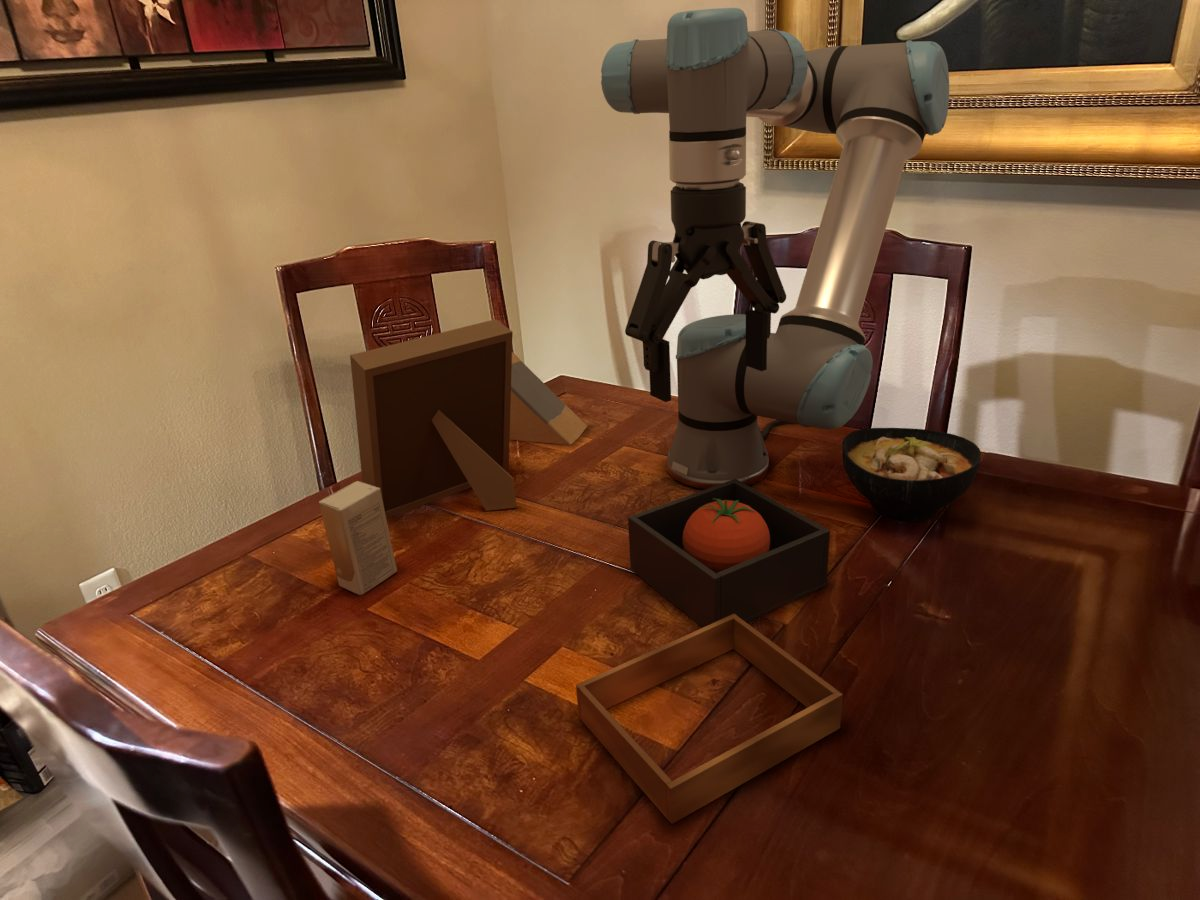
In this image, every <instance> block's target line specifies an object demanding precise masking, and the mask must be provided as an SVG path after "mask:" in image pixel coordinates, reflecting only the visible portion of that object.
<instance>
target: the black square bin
mask: <svg viewBox="0 0 1200 900" xmlns="http://www.w3.org/2000/svg"><path fill="white" fill-rule="evenodd" d="M715 499H720V500H721V501H722V500H730V501H736V500H739V501H738V502H740V503H742V504H745V505H748V506H750V507H751V508H752V509H754V510H755V511H757V512H758V513H759V514H760V515H761V516H762V518H763V519H764V521H765V522H766V524H767V527H768V530H769V534H770V547H769V551H768V552H766V553H764V554H761V555H759V556H756V557H754V558H752V559H749V560H747V561H744V562H742V563H740V564H737V565H735V566H732V567H730V568H728V569H725V570H723V571H720V572H718V573H715V572H713V571H712V570H710V569H709V568H708V567H706V566H705V565H703V564H702V563H700V562H699V561H698V560H696V559H695V558H693V557H692V556H691V555H689V554H688V553H686V552H685V551H684V547H683V531H684V528H685V526H686V523H687V521H688V519H689V518H690V516H691V515H692V514H693V513H694V512H695V511H696V510H698V509H699V507H702V506H704V505H705V504H708V503H712V502H715V501H717V500H715ZM627 525H628V527H627V528H628V546H629V548H628V549H629V565H630V567H629V570H630V571H631V572H632V573H634V574H635V575H636V576H637V577H639V578H640V579H641V580H642V581H644V582H645V583H646V584H647V585H649V587H651V588H653V589H654V590H655V591H657V592H658V593H659V595H661V596H663V598H665V599H666V600H668V601H669V602H670V603H671V604H672V605H673V606H674V607H676V608H677V609H678V610H680V611H681V612H683V613H684V614H685V615H686V616H688V618H690V619H691V620H692V621H694V622H695V623H696V624H697V625H699V626H700V628H703V627H706V626H708V625H710V624H712V623H714V622H717V621H719V620H721V619H723V618H726V617H728V616H730V615H732V614H735V615H737V616H738V617H739V618H741V619H742V620H743V621H745V622H746V623H747V624H748V623H749V622H751V621H753V620H756V619H758V618H759V617H762V616H764V615H766V614H769V613H771V612H773V611H775V610H777V609H779V608H781V607H783V606H786V605H788V604H790V603H793V602H795V601H797V600H799V599H801V598H804V597H805V596H807V595H810V594H812V593H814V592H816V591H819V590H821V589H823V588H825V587H827V585H828V584H827V583H828V568H829V552H830V539H831V538H830V537H831V530H830V529H828V528H826V527H825V526H823V525H822V524H820V523H817V522H815V521H813V520H811V519H810V518H808V517H806V516H805V515H802V514H800V512H799V513H798V512H797V511H796V510H793V509H792V508H790V507H788V506H786V505H784V504H782V503H781V502H779V501H777V500H775V499H773V498H772V497H769V496H768V495H766V494H764V493H762V492H760V491H759V490H757V489H755V488H753V487H751V486H750V485H749V486H748V485H746V484H744V483H742V482H740V481H739V480H737V479H733V480H731V481H727V482H725V483H722V484H719V485H716V486H713V487H711V488H708V489H701V490H700V491H697V492H694V493H691V494H688V495H685V496H682V497H679V498H677V499H674V500H672V501H669V502H665V503H663V504H660V505H658V506H655V507H652V508H649V509H646V510H642V511H641V512H638V513H635V514H633V515H630V516H628V517H627Z"/></svg>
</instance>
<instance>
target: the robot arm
mask: <svg viewBox="0 0 1200 900" xmlns="http://www.w3.org/2000/svg"><path fill="white" fill-rule="evenodd" d="M666 26H667V27H666V38H657V39H641V40H640V39H638V38H637V39H633V40H631V41H625V42H624V41H623V42H619V43H616V44H614V45H612V46H611V47H610V48H609V49H608V51H607V52H606V53H605V55H604V58H603V61H602V63H601V69H600V72H601V81H600V85H601V90H602V94H603V98H604V99H605V101H606V103H607V105H609V107H610V108H611V109H613V110H614V111H616V112H618V113H624V114H625V113H627V114H634V115H640V114H668V123H669V124H668V125H669V131H668V133H669V135H668V137H669V139H668V156H669V157H668V158H669V159H668V160H669V165H668V166H669V180H670V181H671V182H672V183H674V184H675V186H673V187H672V188H671V190H670V220H671V223H672V225H673V228H674V237H673V240H672V241H658V240H651V241H649V243H648V246H647V259H646V260H647V261H646V263H647V264H646V266H645V269H644V271H643V275H642V278H641V281H640V284H639V287H638V290H637V293H636V295H635V298H634V302H633V305H632V308H631V311H630V314H629V317H628V320H627V323H626V325H625V330H624V331H625V332H624V333H625V335H626V336H627V337H629V338H633V339H635V340H638V341H640V342H642V354H643V358H642V359H643V367H644V368H645V370H646V371H649V394H650V396H651V397H653V398H655V399H658V400H660V401H662V402H664V403H668V402H670V401H672V384H671V383H672V382H671V351H670V350H671V349H670V346H671V345H670V341H668V340H667V339H664V337H665V336H666V334H667V332H668V330H669V328H670V327H671V325H672V324H673V322H674V320H675V318H676V316H677V314H678V312H679V311H680V309H681V307H682V306H683V304H684V302H685V300H686V298H687V296H688V295H689V293H690V291H691V289H693V288H694V287H696V286H697V285H698V283H699V282H700V280H708V279H710V278H713V277H714V276H724V275H727V276H728V278H729V279H730V280H731V281H732V283H733V284H734V285H735V287H736V288H737V289H738V290H739V292H740V293H741V294H742V296H743V297H744V299H745V300H746V301H747V302H748V304H749V305H750V306H751V307H752V308H753V309H747V310H745V314H744V313H743V314H742V313H739V314H737V313H735V314H734V313H733V314H722V315H716V316H710V317H705V318H701V319H698V320H694V321H692V322H690V323H688V324H686V325H685V326H683V327H682V328H681V329H680V331H679V332H678V335H677V342H676V355H675V360H676V376H677V377H676V379H677V412H678V413H677V415H678V416H677V417H678V419H677V420H678V421H677V425H676V427H675V432H674V434H673V438H672V442H671V446H670V448H669V450H668V452H667V456H666V460H667V461H666V465H667V466H666V467H667V472H668V474H669V476H670V477H671V478H672V479H674V480H675V481H677V482H679V483H680V484H683V485H685V486H688V487H691V488H695V489H700V490H705V489H708V488H711V487H713V486H716V485H719V484H722V483H725V482H727V481H731V480H733V479H737V480H739V481H740V482H742V483H744V484H746V485H748V486H749V487H750V486H751V485H754V484H757V483H758V482H760V481H761V480H763V479H764V478H765V477H766V476H767V474H768V472H769V467H770V466H769V461H770V460H769V459H770V458H769V453H768V451H767V448H766V444H765V441H764V439H765V438H766V437H767V436H768V434H769V431H770V429H771V428H772V427H774V426H777V425H781V424H789V423H790V424H796V425H800V426H801V427H803V428H807V429H808V428H809V429H810V428H814V429H816V428H817V429H822V430H835V429H839V428H841V427H842V426H844V425H846V424H847V423H848V422H849V421H850V420H852V418H853V417H854V416H855V415H856V413H857V412H858V410H859V408H860V406H861V405H862V403H863V401H864V398H865V397H866V394H867V391H868V389H869V386H870V383H871V378H872V374H871V373H872V370H873V365H874V363H873V362H874V361H873V356H872V353H871V350H869V348H868V347H866V345H865V343H866V334H865V333H864V331H863V330H862V329H861V327H860V325H859V321H860V318H861V315H862V310H863V307H864V304H865V300H866V297H867V294H868V291H869V287H870V284H871V280H872V277H873V274H874V269H875V266H876V263H877V260H878V257H879V254H880V253H879V252H880V249H881V246H882V243H883V239H884V236H885V231H886V229H887V225H888V222H889V219H890V215H891V212H892V208H893V205H894V202H895V198H896V195H897V191H898V188H899V184H900V181H901V177H902V174H903V171H904V167H905V164H906V162H907V161H908V160H911V159H912V158H914V157H916V156H917V155H918V154H919V153H920V151H921V149H922V147H923V144H924V141H925V137H926V135H928V136H934V135H936V134H939V133H941V132H942V130H943V129H944V127H945V125H946V121H947V117H948V111H949V104H950V103H949V102H950V72H949V65H948V60H947V57H946V53H945V51H944V49H943V48H942V47H941V45H940V44H939V43H937V42H935V41H930V40H928V41H927V40H925V41H922V40H921V41H913V40H911V39H908V40H907V39H906V42H889V43H873V44H856V45H834V46H827V47H822V48H815V49H810V50H805V47H804V45H803V44H802V43H801V41H800V40H799V39H798V38H797V37H796V36H795V35H793V34H791V33H789V32H787V31H784V30H778V29H777V28H769V29H760V30H751V31H749V29H748V28H749V27H748V17H747V15H746V13H745V11H744V10H742V8H739V7H722V8H721V7H719V8H706V9H705V8H704V9H694V10H685V11H680V12H676V13H674V14H673V15H671V16H670V18H669V19H668V22H667V25H666ZM747 118H758V119H759V120H761V121H762V122H763V123H765V124H767V125H768V126H769V125H770V126H774V127H784V128H791V129H794V130H800V131H805V132H812V133H817V134H825V135H826V134H827V135H835V138H836V140H837V143H838V144H839V145H840V147H841V148H842V150H841V152H840V156H839V160H838V163H837V165H836V169H835V173H834V176H833V179H832V180H833V181H832V183H831V187H830V190H829V194H828V197H827V200H826V202H825V203H826V204H825V206H824V210H823V213H822V217H821V220H820V224H819V227H818V230H817V233H816V237H815V241H814V243H813V247H812V251H811V254H810V257H809V260H808V264H807V268H806V270H805V274H804V277H803V281H802V284H801V286H800V287H801V288H800V290H799V294H798V298H797V301H796V304H795V307H794V308H793V309H791V310H789V311H788V312H786V313H784V314H782V315H781V316H780V319H779V322H778V325H777V329H776V331H775V332H771V330H772V329H771V328H772V326H771V325H772V314H777V313H778V312H779V310H780V304H784V303H785V302H786V299H787V293H786V290H785V288H784V286H783V282H782V280H781V278H780V275H779V272H778V270H777V266H776V264H775V261H774V259H773V257H772V253H771V250H770V248H769V246H768V243H767V241H768V240H767V227H766V225H765V224H764V223H761V222H755V221H754V222H753V221H748V220H746V221H745V219H746V216H747V187H746V186H745V184H744V183H742V182H740V180H742V179H744V178H745V177H746V175H747ZM742 245H743V248H744V252H745V254H746V257H747V259H748V262H749V264H750V267H751V269H752V271H753V273H752V272H751V270H750V269H749V264H748V262H747V261H746V260H745V258H744V257H743V256H742V254H741V253H740V252H739V251H740V249H741V247H742ZM672 264H673V265H672ZM758 417H762V418H767V419H771V420H772V421H770V422H769V423H767V424H765V426H764V429H763V431H762V432H761V428H760V425H759V422H758Z"/></svg>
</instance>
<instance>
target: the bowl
mask: <svg viewBox="0 0 1200 900" xmlns="http://www.w3.org/2000/svg"><path fill="white" fill-rule="evenodd" d="M841 452H842V453H841V458H842V459H841V460H842V465H843V469H844V471H845V474H846V476H847V477H848V480H849V481H850V483H851V484H852V485H853V487H854V488H855V489H856V491H857V492H858V493H859V494H860V495H861V496H862V497H863V498H865V499H866V500H867V501H868V503H869V505H870V507H871V509H872V510H873V511H874V512H875V513H876V514H877V515H879V516H881V517H882V518H884V519H888V520H890V521H895V522H899V523H923V522H925V521H926V522H927V521H929V520H931V519H933V518H934V517H935V516H936V515H937V514H938V513H939V511H940V510H942V509H943V508H945V507H947V506H949V505H951V504H952V503H954V502H955V501H956V500H957V499H959V498H960V497H961V496H962V495H964V494H965V493H966V492H967V491H968V489H969V488H970V487H971V485H972V484H973V483H974V481H975V479H976V476H977V474H978V471H979V469H980V465H981V459H982V452H981V449H980V448H979V445H977V444H976V443H975V442H973V441H971V440H970V439H968V438H966V437H962V436H959V435H957V434H954V433H948V432H943V431H938V430H931V429H923V428H909V427H867V428H861V429H857V430H853V431H851V432H850V433H848V434H847V435H846V436H845V437H844V438H843V439H842V442H841Z"/></svg>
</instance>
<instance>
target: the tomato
mask: <svg viewBox="0 0 1200 900" xmlns="http://www.w3.org/2000/svg"><path fill="white" fill-rule="evenodd" d="M715 500H717V501H715V502H712V503H708V504H705V505H704V506H702V507H699V509H698V510H696V511H695V512H694V513H693V514H692V515H691V516H690V518H689V519H688V521H687V523H686V526H685V528H684V531H683V547H684V551H685V552H686V553H688V554H689V555H691V556H692V557H693V558H695V559H696V560H698V561H699V562H700V563H702V564H703V565H705V566H706V567H708V568H709V569H710V570H712V571H713V572H715V573H718V572H720V571H723V570H725V569H728V568H730V567H732V566H735V565H737V564H740V563H742V562H744V561H747V560H749V559H752V558H754V557H756V556H759V555H761V554H764V553H766V552H768V551H769V547H770V534H769V530H768V527H767V524H766V522H765V521H764V519H763V518H762V516H761V515H760V514H759V513H758V512H757V511H755V510H754V509H752V508H751V507H750V506H748V505H745V504H742V503H740V502H738V501H739V500H736V501H730V500H722V501H721V500H720V499H715Z"/></svg>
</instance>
